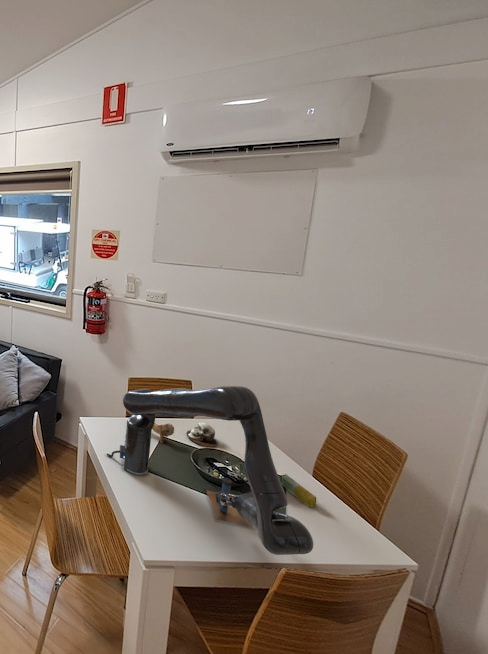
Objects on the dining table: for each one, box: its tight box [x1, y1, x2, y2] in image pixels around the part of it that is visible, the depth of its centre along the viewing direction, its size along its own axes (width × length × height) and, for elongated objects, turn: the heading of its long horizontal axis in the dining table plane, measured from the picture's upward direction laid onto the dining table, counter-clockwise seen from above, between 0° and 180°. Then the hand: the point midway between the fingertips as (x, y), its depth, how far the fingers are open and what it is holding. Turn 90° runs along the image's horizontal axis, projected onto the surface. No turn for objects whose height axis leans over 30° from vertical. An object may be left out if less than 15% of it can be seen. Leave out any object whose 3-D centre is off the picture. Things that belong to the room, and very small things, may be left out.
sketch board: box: [205, 489, 255, 529], centre depth 129 cm, size 20×16×1 cm
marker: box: [219, 477, 233, 514], centre depth 126 cm, size 3×3×12 cm
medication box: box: [280, 474, 318, 509], centre depth 135 cm, size 12×3×4 cm, turn 6°
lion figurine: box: [152, 423, 175, 444], centre depth 169 cm, size 15×5×9 cm, turn 44°
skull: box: [185, 422, 218, 447], centre depth 169 cm, size 12×10×10 cm
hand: (235, 494), depth 121 cm, fingers open, 8 cm apart
